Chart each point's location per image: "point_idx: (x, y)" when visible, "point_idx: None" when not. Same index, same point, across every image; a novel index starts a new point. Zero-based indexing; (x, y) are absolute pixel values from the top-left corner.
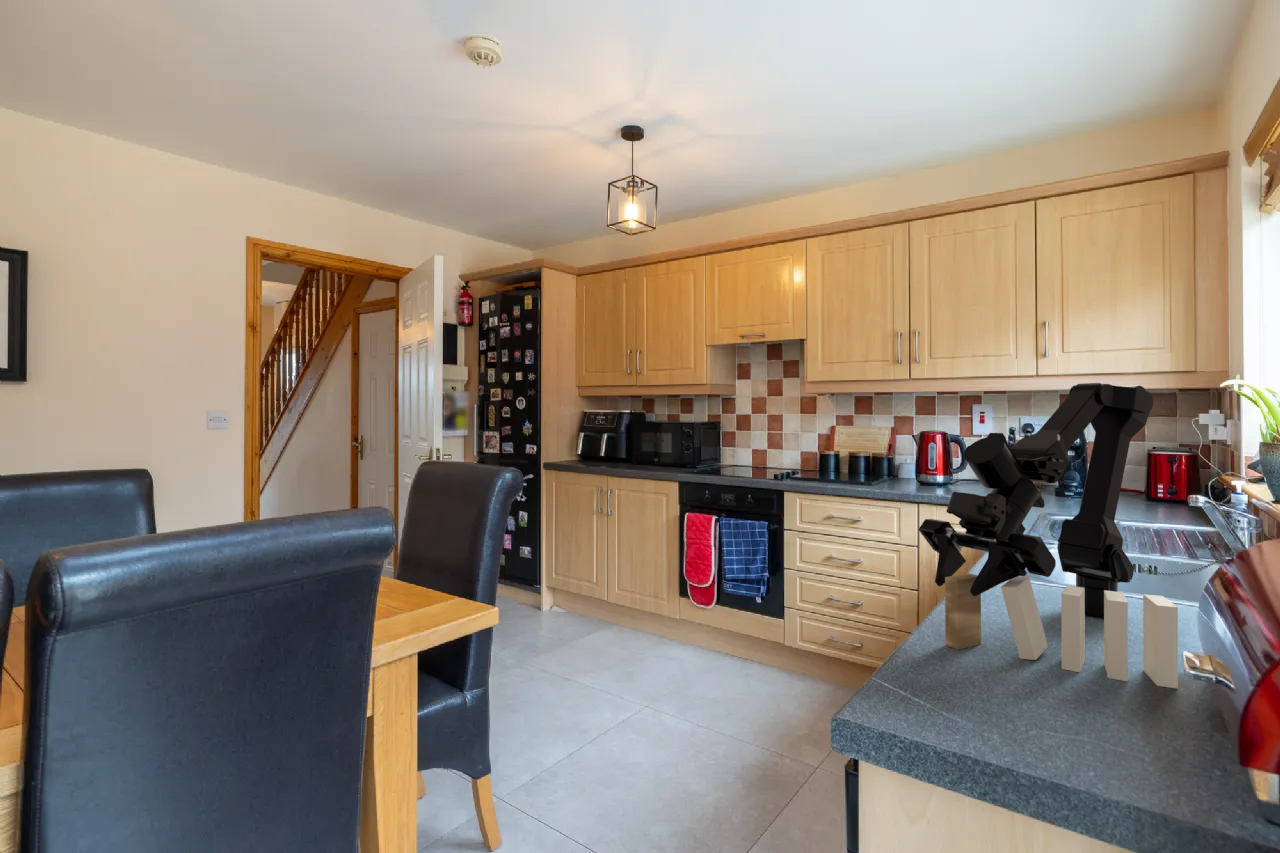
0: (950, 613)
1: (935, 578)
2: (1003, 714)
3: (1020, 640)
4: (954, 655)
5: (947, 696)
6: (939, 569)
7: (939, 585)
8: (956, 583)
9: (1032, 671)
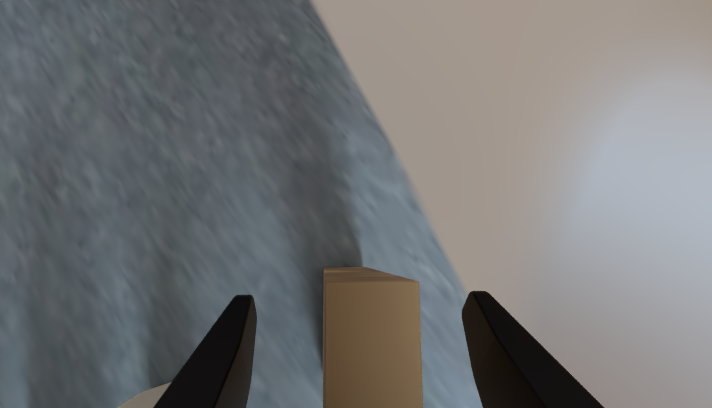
0: (356, 271)
1: (498, 304)
2: (22, 28)
3: (158, 392)
4: (306, 231)
5: (149, 4)
6: (533, 358)
7: (464, 309)
8: (331, 281)
9: (121, 324)
